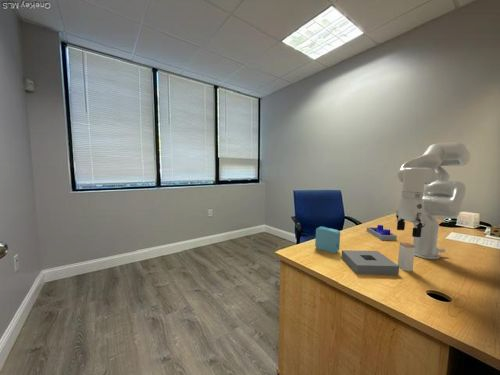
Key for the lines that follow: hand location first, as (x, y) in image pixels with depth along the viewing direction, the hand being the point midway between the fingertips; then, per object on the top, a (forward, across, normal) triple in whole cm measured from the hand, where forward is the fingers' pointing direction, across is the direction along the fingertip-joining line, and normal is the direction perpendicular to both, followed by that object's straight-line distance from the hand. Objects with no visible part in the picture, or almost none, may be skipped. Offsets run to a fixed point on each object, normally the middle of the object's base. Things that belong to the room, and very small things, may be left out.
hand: (408, 233), depth 95 cm
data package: (+17, +20, +28) cm, 39 cm away
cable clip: (+16, +46, -18) cm, 52 cm away
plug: (+17, 0, -1) cm, 17 cm away
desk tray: (+16, +46, -17) cm, 52 cm away
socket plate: (+17, +2, +15) cm, 23 cm away
